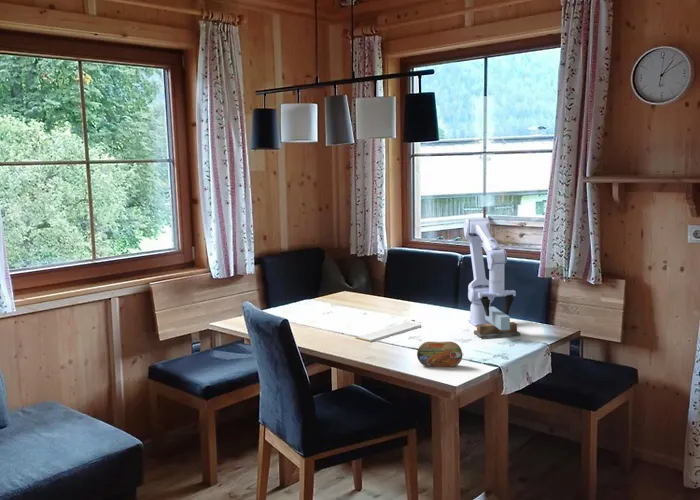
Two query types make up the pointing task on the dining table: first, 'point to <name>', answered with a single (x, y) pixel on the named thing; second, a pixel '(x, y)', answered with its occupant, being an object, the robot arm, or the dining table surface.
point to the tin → (439, 354)
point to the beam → (498, 319)
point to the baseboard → (388, 331)
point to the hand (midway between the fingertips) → (496, 315)
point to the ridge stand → (496, 331)
